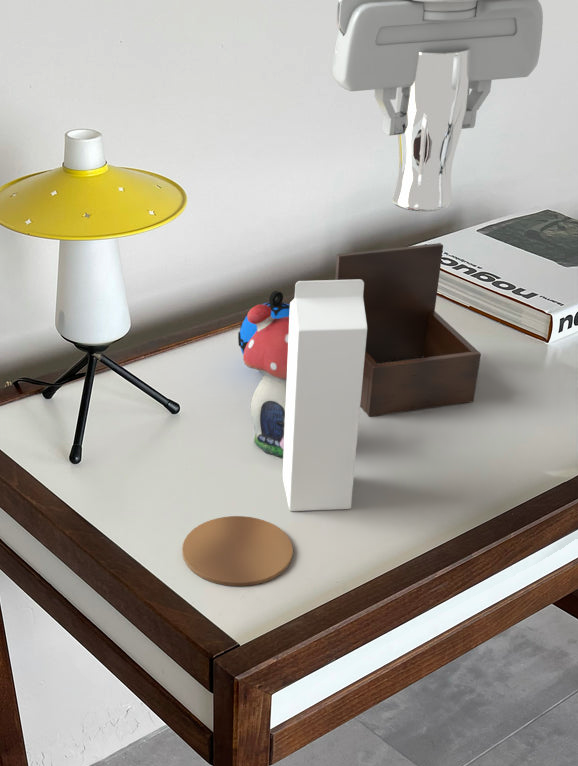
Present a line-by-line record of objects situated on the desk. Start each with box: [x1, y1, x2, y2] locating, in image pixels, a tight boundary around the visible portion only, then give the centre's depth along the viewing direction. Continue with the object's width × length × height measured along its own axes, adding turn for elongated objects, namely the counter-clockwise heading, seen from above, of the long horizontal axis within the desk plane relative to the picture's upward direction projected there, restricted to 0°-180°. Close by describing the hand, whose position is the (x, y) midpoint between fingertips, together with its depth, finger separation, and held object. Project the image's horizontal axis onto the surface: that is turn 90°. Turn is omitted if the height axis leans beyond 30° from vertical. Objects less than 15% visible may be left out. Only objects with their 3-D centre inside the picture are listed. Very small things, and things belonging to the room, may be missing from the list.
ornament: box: [237, 290, 290, 355], centre depth 118 cm, size 9×9×10 cm
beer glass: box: [392, 48, 472, 212], centre depth 101 cm, size 7×7×15 cm
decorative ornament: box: [242, 303, 289, 459], centre depth 103 cm, size 9×6×15 cm
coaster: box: [181, 515, 294, 587], centre depth 92 cm, size 10×10×1 cm
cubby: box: [334, 242, 482, 417], centre depth 114 cm, size 13×13×14 cm
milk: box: [282, 279, 367, 512], centre depth 93 cm, size 6×6×22 cm
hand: (428, 130), depth 101 cm, fingers closed on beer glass, 6 cm apart
